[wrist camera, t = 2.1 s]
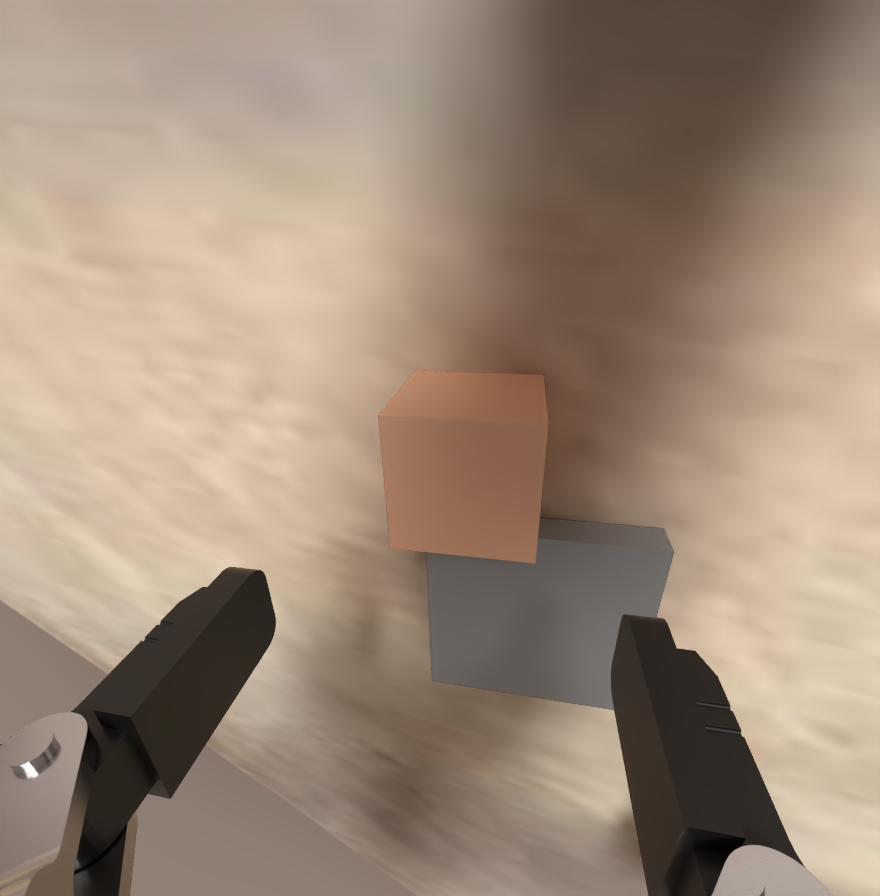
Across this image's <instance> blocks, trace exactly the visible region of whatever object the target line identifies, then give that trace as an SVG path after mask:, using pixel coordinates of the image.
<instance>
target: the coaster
mask: <svg viewBox="0 0 880 896" xmlns="http://www.w3.org/2000/svg"><path fill="white" fill-rule="evenodd" d="M426 553H427V577H428V600H429V624H430V648H431V671H432V681H435V682H441V683H447V684H454V685H460V686H466V687H473V688H479V689H485V690H491V691H498V692H504V693H510V694H517V695H523V696H529V697H535V698H542V699H548V700H554V701H561V702H567V703H573V704H580V705H586V706H592V707H598V708H605V709H611V710H614V706H613V700H612V693H611V666H612V660H613V656H614V651H615V646H616V641H617V637H618V632H619V627H620V622H621V618H622V616H623V615H624V614H628V615H637V616H645V617H654V618H656V617H657V613H658V609H659V606H660V602H661V598H662V595H663V591H664V587H665V584H666V580H667V576H668V572H669V569H670V565H671V561H672V558H673V554H674V550H673V548H672V546H671V543H670V541H669V539H668V537H667V535H666V532H665V530H664V529H662V528H650V527H639V526H628V525H617V524H605V523H594V522H583V521H571V520H560V519H549V518H540V521H539V531H538V542H537V552H536V562H535V563H526V562H516V561H507V560H497V559H488V558H478V557H468V556H459V555H449V554H440V553H430V552H426Z"/></svg>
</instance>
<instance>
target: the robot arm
mask: <svg viewBox="0 0 880 896" xmlns="http://www.w3.org/2000/svg"><path fill="white" fill-rule="evenodd" d="M275 627H276V618H275V613H274V609H273V605H272V601H271V597H270V592H269V588H268V584H267V580H266V576H265V574H264V573H263V571H261V570H254V569H245V568H237V567H228V568H226V569H225V570H223V571H222V572H221V573H220V574H219V576H218V577H217V578H216V579H215V580H214V581H213V582H212V583H211V584H210V585H209V586H208V587H202V588H200V589H199V590H197V591H196V592H194V593H193V594H191V595H189V596H188V597H186V598H185V599H183V600H182V601H180V602H179V603H178V604H177V605H176V606H175V607H174V608H173V609H172V610H171V611H170V612H169V613H168V614H167V615H166V616H165V617H164V618H163V619H162V620H161V623H160V625H156V626H155V627H154V628H153V629H152V631H151V632H150V633H149V634H148V635H147V636H146V637H145V640H144V641H141V642H140V643H139V644H138V645H137V646H136V647H135V648H134V649H133V650H132V651H131V652H130V653H129V654H128V655H127V656H126V657H125V658H124V659H123V660H122V661H121V662H120V663H119V664H118V665H117V666H116V667H115V668H114V669H113V670H112V672H111V673H110V674H109V675H108V676H107V677H106V678H105V679H104V680H103V681H102V682H101V683H100V684H99V685H98V686H97V687H96V688H95V689H94V690H93V691H92V692H91V693H90V694H89V695H88V696H87V697H86V698H85V699H84V700H83V701H82V702H81V703H80V704H79V705H78V706H77V707H76V708H75V709H74V710H73V711H71V712H62V713H57V714H53V715H50V716H46V717H44V718H42V719H39V720H37V721H35V722H33V723H31V724H29V725H28V726H26V727H24V728H23V729H21V730H19V731H18V732H17V733H15V734H14V735H13V736H11V737H10V738H9V739H8V740H7V741H5V742H4V743H3V744H0V896H130V893H131V884H132V874H133V865H134V864H133V863H134V854H135V846H136V835H137V827H138V815H137V811H136V810H137V808H138V807H139V805H140V804H141V803H142V801H143V800H144V798H145V797H146V795H147V794H151V795H156V796H160V797H165V798H169V799H170V798H171V797H172V795H173V794H174V793H175V791H176V790H177V788H178V786H179V785H180V783H181V782H182V780H183V779H184V777H185V776H186V774H187V772H188V771H189V769H190V768H191V766H192V765H193V763H194V762H195V760H196V759H197V757H198V755H199V754H200V752H201V751H202V749H203V747H204V746H205V745H206V743H207V742H208V740H209V738H210V737H211V735H212V734H213V732H214V731H215V729H216V728H217V726H218V724H219V723H220V721H221V720H222V718H223V717H224V715H225V714H226V712H227V711H228V709H229V707H230V706H231V704H232V703H233V701H234V700H235V698H236V697H237V695H238V693H239V692H240V690H241V689H242V687H243V686H244V684H245V683H246V681H247V680H248V678H249V676H250V675H251V673H252V672H253V670H254V669H255V667H256V666H257V664H258V662H259V661H260V659H261V658H262V656H263V655H264V653H265V652H266V650H267V649H268V647H269V645H270V643H271V641H272V639H273V636H274V632H275ZM611 693H612V700H613V706H614V711H615V717H616V722H617V728H618V733H619V738H620V744H621V749H622V755H623V760H624V765H625V771H626V776H627V782H628V787H629V793H630V798H631V803H632V809H633V814H634V820H635V825H636V830H637V836H638V841H639V847H640V852H641V857H642V863H643V868H644V874H645V879H646V885H647V890H648V895H649V896H833V895H832V893H831V892H830V891H829V890H828V889H827V888H826V886H825V885H824V884H823V883H822V882H821V881H820V880H819V879H818V878H817V877H816V876H814V875H813V874H812V873H811V872H810V871H809V870H807V869H806V868H805V866H804V865H803V864H802V862H801V860H800V859H799V857H798V856H797V854H796V852H795V850H794V848H793V846H792V844H791V842H790V841H789V838H788V836H787V834H786V831H785V829H784V827H783V825H782V822H781V820H780V818H779V816H778V813H777V811H776V809H775V806H774V804H773V802H772V800H771V797H770V795H769V793H768V790H767V788H766V786H765V784H764V781H763V779H762V777H761V774H760V772H759V770H758V768H757V765H756V763H755V761H754V758H753V756H752V754H751V752H750V749H749V747H748V745H747V742H746V740H745V738H744V737H742V735H741V729H740V727H739V724H738V722H737V720H736V717H735V715H734V713H733V711H731V710H730V704H729V701H728V699H727V697H726V695H725V692H724V690H723V688H722V685H721V683H720V681H719V679H718V676H717V675H716V674H715V673H714V672H713V671H712V670H711V668H710V667H709V666H708V665H707V664H706V663H705V662H704V660H703V659H702V658H701V657H700V656H699V655H698V654H697V652H696V651H692V650H684V649H677V648H676V645H675V643H674V640H673V637H672V634H671V632H670V629H669V626H668V624H667V622H666V621H665V620H664V619H662V618H654V617H645V616H637V615H628V614H624V615H623V616H622V618H621V622H620V627H619V632H618V637H617V641H616V646H615V651H614V656H613V660H612V666H611Z"/></svg>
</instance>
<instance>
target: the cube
mask: <svg viewBox="0 0 880 896" xmlns="http://www.w3.org/2000/svg"><path fill="white" fill-rule="evenodd" d="M378 418H379V429H380V441H381V452H382V463H383V475H384V486H385V497H386V509H387V520H388V531H389V543H390V548H392V549H401V550H411V551H420V552H430V553H440V554H449V555H459V556H468V557H478V558H488V559H497V560H507V561H516V562H526V563H535V562H536V552H537V542H538V531H539V521H540V510H541V500H542V490H543V479H544V469H545V459H546V448H547V438H548V428H549V421H548V412H547V402H546V392H545V383H544V375H541V374H511V373H480V372H449V371H418V370H416V371H415V372H414V373H413V374H412V376H411V377H410V378H409V379H408V380H407V382H406V383H405V384H404V385H403V386H402V388H401V389H400V390H399V391H398V393H397V394H396V395H395V396H394V397H393V399H392V400H391V401H390V402H389V403H388V405H387V406H386V407H385V408H384V409H383V411H382V412H381V413H380V414H379V415H378Z"/></svg>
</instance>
